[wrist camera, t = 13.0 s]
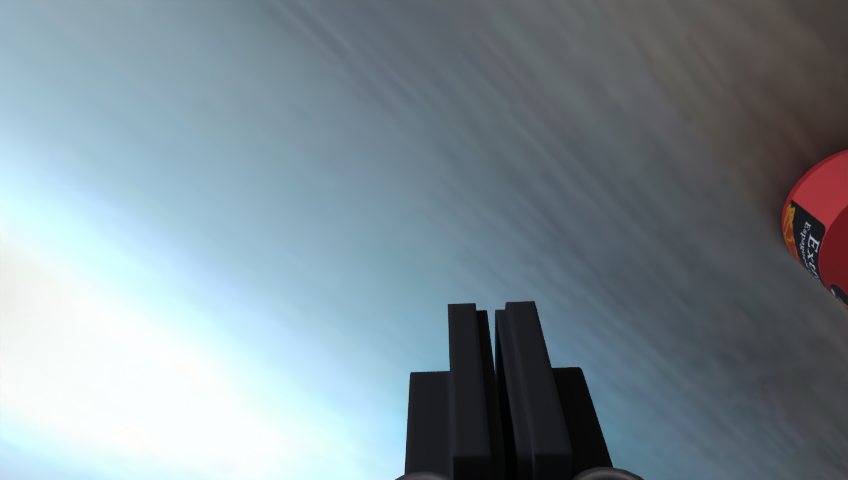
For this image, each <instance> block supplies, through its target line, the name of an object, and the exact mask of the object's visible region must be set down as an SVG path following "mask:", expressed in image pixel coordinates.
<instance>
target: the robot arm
mask: <svg viewBox="0 0 848 480" xmlns="http://www.w3.org/2000/svg"><path fill="white" fill-rule="evenodd" d="M448 324H449V357H450V371H437V372H411V374H410V385H409V403H408V421H407V439H406V457H405V475H403V476H401V477H399V478H397V479H395V480H644V479H642V478H641V477H640V476H637V475H635V474H633V473H631V472H628V471H626V470H622V469H617V468H613V465H612V462H611V459H610V456H609V453H608V449H607V446H606V443H605V440H604V437H603V434H602V431H601V427H600V424H599V421H598V418H597V415H596V412H595V409H594V406H593V402H592V399H591V396H590V393H589V390H588V387H587V384H586V380H585V377H584V374H583V372H582V369H581V368H580V367H568V368H551V364H550V360H549V356H548V352H547V348H546V344H545V340H544V336H543V332H542V328H541V324H540V320H539V316H538V312H537V309H536V305H535V302H534V301H525V302H506V305H505V310H495V370H494V362H493V354H492V347H491V339H490V331H489V323H488V315H487V310H479V311H476V304H475V303H467V304H448Z"/></svg>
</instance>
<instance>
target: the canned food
mask: <svg viewBox="0 0 848 480" xmlns="http://www.w3.org/2000/svg"><path fill="white" fill-rule="evenodd" d="M781 226H782V231H783V235H784V239H785V242H786V245H787V247H788V249H789V251H790V253H791V254H792V255H793V256H794V258H795V259H796V260H797V261H798V262H799V263H800V264H801V265H802V266H803V267H804V268H805V269H806V270H808V271H809V272H810V273H811V274H812V275H813V276H814V277H815V278H816V279H817V280H818V281H819V282H820V283H821V284H822V285H823V286H824V287H825V288H826V289H827V290H829V291H830V292H831V293H832V294H833V295H834V296H835V297H836V298H837V299H838V300H839V301H840V302H841V303H842V304H843V305H844V306H845V307H846V308H847V309H848V149H846V150H843V151H841V152H838V153H835V154H833V155H831V156H829V157H827V158H825V159H824V160H822V161H820V162H819V163H817V164H816V165H815V166H813V167H812V168H811V169H809V170H808V171H807V172H806V173H805V174H804V175H803V176H802V177H801V178H800V179H799V180H798V182H797V183H796V184H795V186H794V187H793V189H792V190H791V191H790V193H789V195H788V198H787V200H786V202H785V204H784V208H783V212H782V224H781Z"/></svg>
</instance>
